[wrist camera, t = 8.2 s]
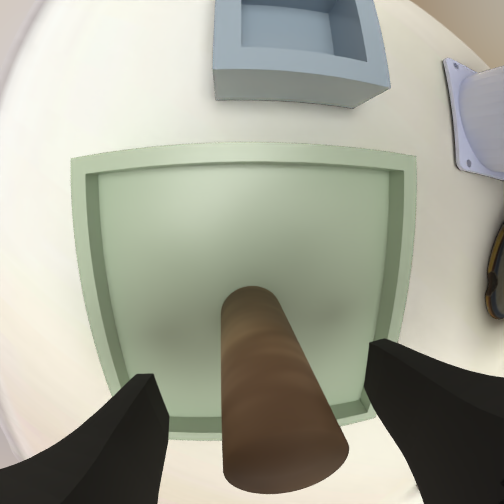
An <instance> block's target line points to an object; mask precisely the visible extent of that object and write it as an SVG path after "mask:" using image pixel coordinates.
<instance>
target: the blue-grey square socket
mask: <svg viewBox="0 0 504 504" xmlns="http://www.w3.org/2000/svg"><path fill="white" fill-rule="evenodd" d="M213 78H214V88H215V98H216V100H273V101H291V102H304V103H315V104H324V105H333V106H340V107H347V108H355V107H357V106H359V105H360V104H362V103H364V102H366V101H368V100H369V99H371V98H373V97H375V96H377V95H379V94H381V93H383V92H384V91H386V90H388V89H390V88H391V85H390V77H389V71H388V65H387V59H386V53H385V48H384V43H383V38H382V33H381V29H380V25H379V21H378V17H377V13H376V9H375V5H374V2H373V0H216V2H215V20H214V43H213Z"/></svg>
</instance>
